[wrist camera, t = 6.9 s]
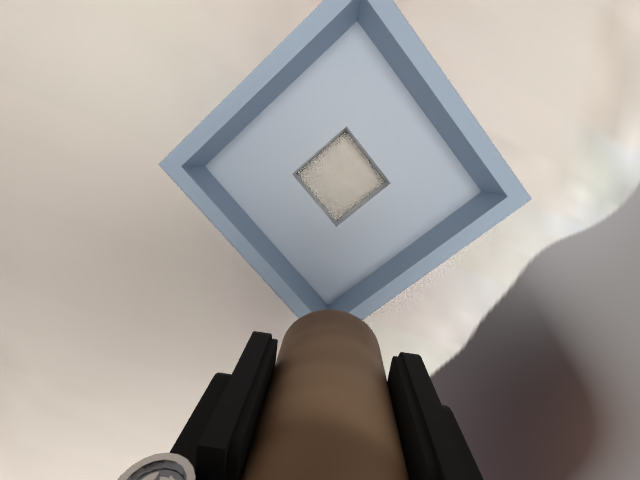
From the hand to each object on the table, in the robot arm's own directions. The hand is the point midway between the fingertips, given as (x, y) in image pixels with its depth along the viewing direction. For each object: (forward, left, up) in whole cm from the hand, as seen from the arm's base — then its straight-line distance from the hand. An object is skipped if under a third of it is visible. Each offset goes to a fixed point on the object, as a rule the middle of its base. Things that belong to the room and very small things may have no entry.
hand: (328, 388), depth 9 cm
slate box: (+4, +4, -17) cm, 18 cm away
